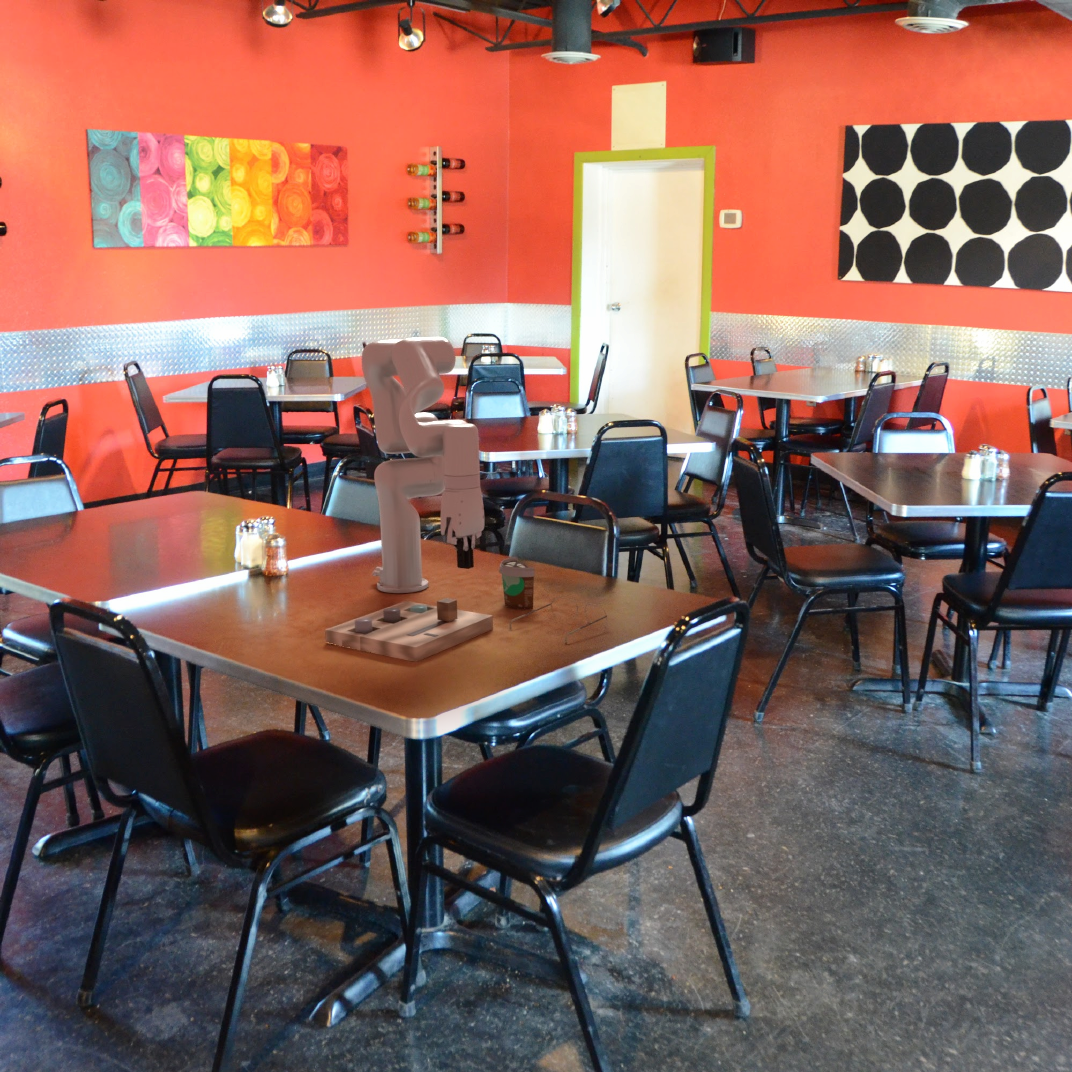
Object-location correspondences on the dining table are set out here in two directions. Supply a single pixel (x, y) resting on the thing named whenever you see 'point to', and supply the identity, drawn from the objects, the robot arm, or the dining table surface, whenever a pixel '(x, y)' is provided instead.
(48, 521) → the dining table surface
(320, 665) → the dining table surface
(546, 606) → the eyeglasses
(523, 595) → the food container
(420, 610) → the teal button
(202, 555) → the dining table surface
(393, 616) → the charcoal button
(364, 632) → the slate button
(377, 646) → the control panel
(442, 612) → the walnut slider
